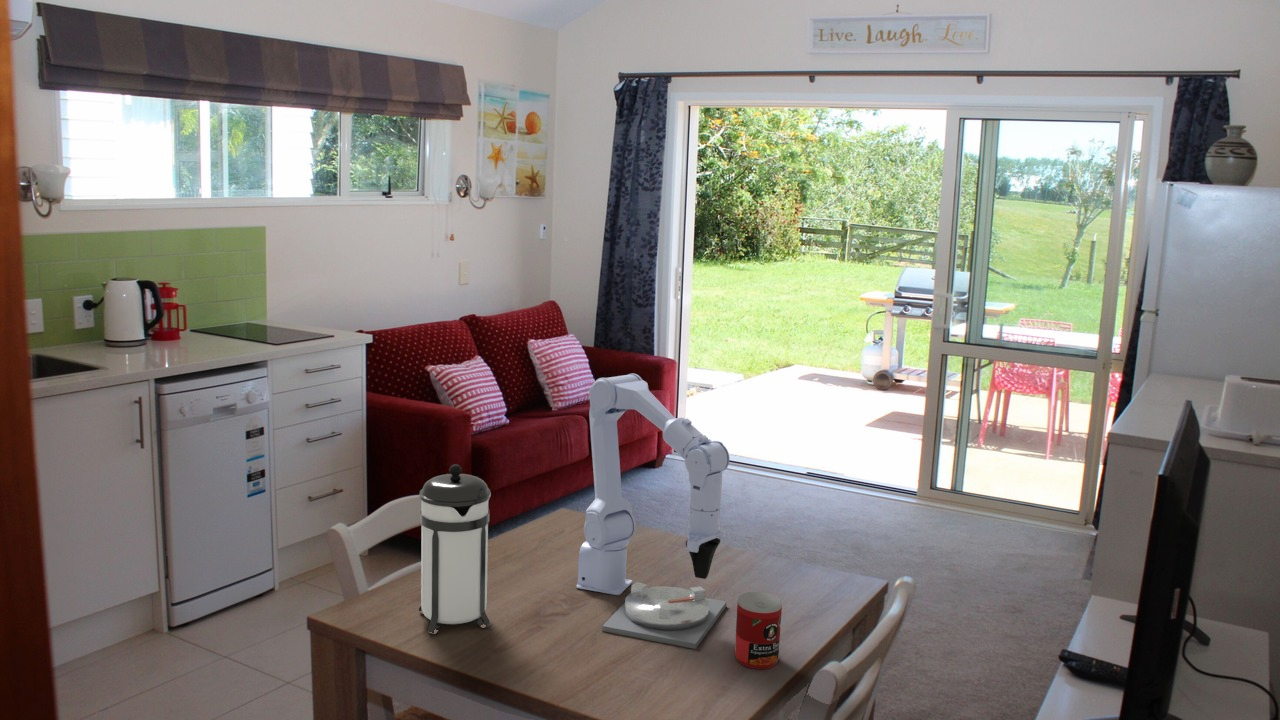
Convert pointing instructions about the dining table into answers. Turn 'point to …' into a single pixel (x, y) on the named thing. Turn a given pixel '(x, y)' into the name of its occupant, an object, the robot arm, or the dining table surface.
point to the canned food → (758, 630)
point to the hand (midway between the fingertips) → (701, 576)
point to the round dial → (666, 607)
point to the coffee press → (454, 549)
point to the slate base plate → (675, 637)
